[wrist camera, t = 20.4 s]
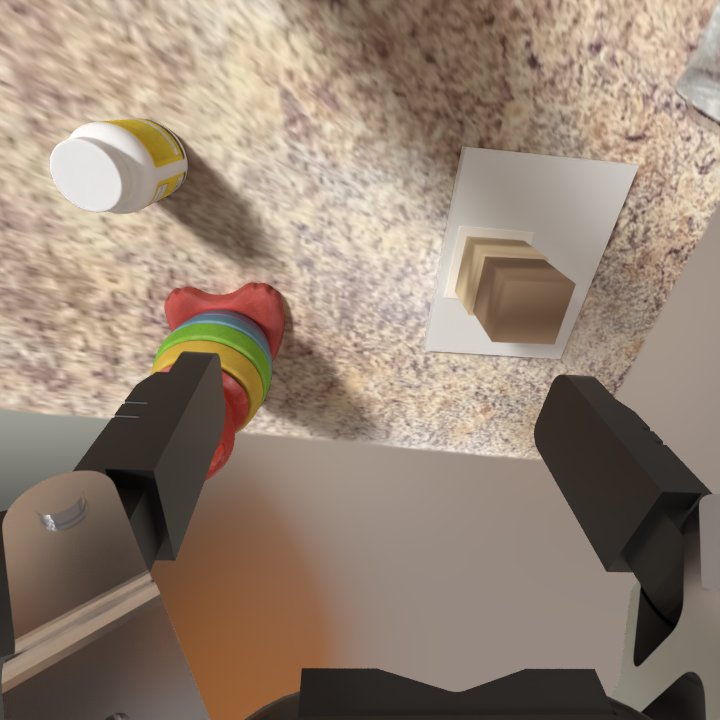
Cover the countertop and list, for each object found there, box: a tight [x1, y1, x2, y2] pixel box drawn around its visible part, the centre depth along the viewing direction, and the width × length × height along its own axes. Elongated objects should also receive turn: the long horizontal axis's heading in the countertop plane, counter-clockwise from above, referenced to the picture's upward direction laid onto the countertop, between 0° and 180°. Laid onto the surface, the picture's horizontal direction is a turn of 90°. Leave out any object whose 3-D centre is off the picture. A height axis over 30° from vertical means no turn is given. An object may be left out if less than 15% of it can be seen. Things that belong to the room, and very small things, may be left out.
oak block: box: [455, 236, 549, 316], centre depth 34 cm, size 5×5×5 cm
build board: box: [423, 146, 639, 359], centre depth 37 cm, size 18×14×1 cm
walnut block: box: [473, 256, 576, 345], centre depth 30 cm, size 4×4×5 cm
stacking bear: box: [151, 283, 284, 481], centre depth 33 cm, size 11×10×18 cm
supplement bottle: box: [50, 119, 188, 214], centre depth 28 cm, size 5×5×10 cm
